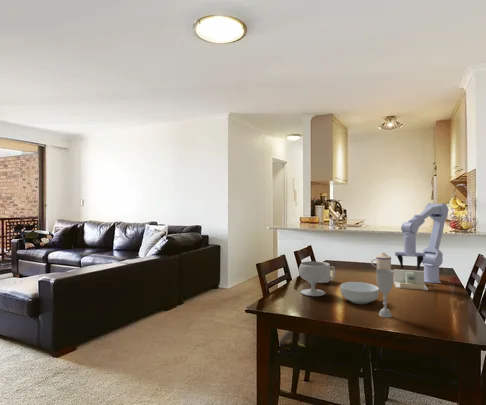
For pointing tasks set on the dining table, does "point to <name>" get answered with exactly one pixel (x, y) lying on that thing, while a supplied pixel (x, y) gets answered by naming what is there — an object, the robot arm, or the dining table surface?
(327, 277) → the mug
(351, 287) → the cereal bowl
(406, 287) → the cream l-shaped stand
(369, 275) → the dining table surface
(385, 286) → the chalice
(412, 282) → the cabinet block
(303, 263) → the chalice
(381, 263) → the teacup with lid
